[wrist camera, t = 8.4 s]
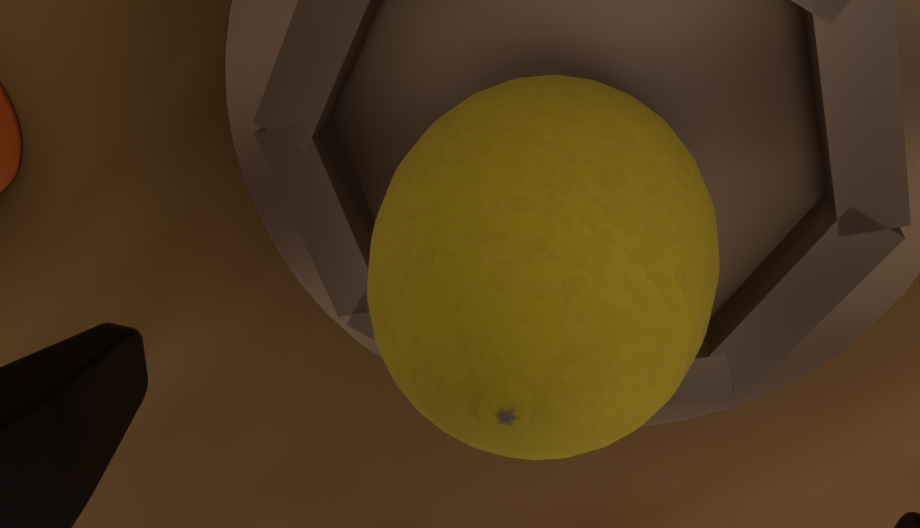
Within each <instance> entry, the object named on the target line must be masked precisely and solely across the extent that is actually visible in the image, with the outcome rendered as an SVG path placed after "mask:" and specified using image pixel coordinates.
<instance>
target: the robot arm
mask: <svg viewBox="0 0 920 528" xmlns="http://www.w3.org/2000/svg"><path fill="white" fill-rule="evenodd" d="M147 386H148V375H147V368H146V360H145V352H144V345H143V339H142V335H141V334H140V332H139V331H138V330H136V329H135V328H131V327H127V326H122V325H118V324H114V323H104V324H101V325H98V326H96V327H93V328H91V329H89V330H86V331H84V332H82V333H79V334H77V335H75V336H72V337H70V338H68V339H65V340H63V341H61V342H58V343H56V344H54V345H51V346H49V347H47V348H44V349H42V350H40V351H37V352H35V353H33V354H30V355H28V356H26V357H23V358H21V359H19V360H16V361H14V362H12V363H9V364H7V365H5V366H2V367H0V528H71V527H72V526H73V524H74V523H75V521H76V520H77V518H78V517H79V515H80V514H81V512H82V511H83V509H84V507H85V506H86V504H87V503H88V501H89V499H90V497H91V496H92V494H93V492H94V491H95V489H96V487H97V485H98V483H99V481H100V480H101V478H102V476H103V474H104V472H105V470H106V468H107V466H108V465H109V463H110V461H111V459H112V457H113V455H114V453H115V451H116V450H117V448H118V446H119V444H120V442H121V440H122V438H123V437H124V435H125V433H126V431H127V429H128V427H129V425H130V423H131V422H132V420H133V418H134V416H135V414H136V412H137V410H138V408H139V407H140V405H141V403H142V401H143V399H144V397H145V394H146V391H147ZM894 528H920V513H916V512H908V513H906V514H904V515H903V516H902V517H901V518H900V519H899V521H898V522H897V524H896V525H895V527H894Z"/></svg>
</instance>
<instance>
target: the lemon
mask: <svg viewBox="0 0 920 528" xmlns="http://www.w3.org/2000/svg"><path fill="white" fill-rule="evenodd" d="M719 270H720V264H719V246H718V235H717V224H716V216H715V210H714V205H713V203H712V200H711V197H710V195H709V192H708V190H707V187H706V185H705V183H704V180H703V178H702V175H701V173H700V171H699V168H698V166H697V163H696V161H695V159H694V158H693V156H692V154H691V153H690V151H689V150H688V149H687V148H686V146H685V145H684V144H683V143H682V141H681V140H680V139H679V137H678V136H677V135H676V134H675V132H674V131H673V130H672V129H671V127H670V126H669V125H668V124H667V122H666V121H665V120H663V119H662V118H661V117H660V116H659V115H657V114H656V113H654V112H653V111H652V110H650V109H649V108H648V107H646V106H645V105H644V104H642V103H641V102H640V101H638V100H637V99H636V98H634V97H633V96H632V95H630V94H628V93H625V92H623V91H620V90H618V89H615V88H613V87H610V86H608V85H605V84H603V83H600V82H598V81H595V80H591V79H584V78H577V77H570V76H563V75H556V74H554V75H544V76H533V77H523V78H515V79H512V80H509V81H507V82H504V83H501V84H499V85H496V86H493V87H491V88H488V89H485V90H483V91H480V92H477V93H474V94H473V95H471V96H470V97H468V98H467V99H466V100H464V101H463V102H461V103H460V104H458V105H457V106H456V107H454V108H453V109H451V110H450V111H449V112H447V113H446V114H444V115H443V116H442V117H440V118H439V119H437V120H436V121H435V122H434V123H433V124H432V125H431V126H430V127H429V128H428V129H427V130H426V132H425V133H424V134H423V135H422V136H421V138H420V139H419V140H418V141H417V143H416V144H415V145H414V146H413V148H412V149H411V150H410V151H409V153H408V154H407V155H406V156H405V158H404V159H403V160H402V162H401V163H400V164H399V166H398V168H397V170H396V171H395V173H394V175H393V177H392V180H391V182H390V185H389V187H388V190H387V192H386V195H385V197H384V200H383V202H382V205H381V207H380V210H379V212H378V215H377V218H376V221H375V224H374V229H373V233H372V239H371V247H370V257H369V268H368V280H367V301H368V307H369V312H370V318H371V323H372V328H373V333H374V338H375V343H376V345H377V348H378V350H379V352H380V354H381V356H382V358H383V360H384V362H385V364H386V366H387V368H388V370H389V372H390V374H391V376H392V378H393V380H394V382H395V384H396V385H397V386H398V387H399V389H400V390H401V391H402V392H403V393H404V395H405V396H406V397H407V398H408V399H409V401H410V402H411V403H412V404H413V405H414V407H415V408H416V409H417V410H418V411H419V412H420V413H421V414H422V415H424V416H425V417H426V418H427V419H429V420H430V421H431V422H432V423H434V424H435V425H436V426H437V427H439V428H440V429H441V430H442V431H444V432H445V433H447V434H448V435H450V436H452V437H454V438H456V439H458V440H460V441H462V442H464V443H466V444H468V445H470V446H472V447H474V448H477V449H480V450H484V451H487V452H490V453H494V454H497V455H500V456H503V457H512V458H520V459H529V460H545V459H560V458H568V457H571V456H575V455H578V454H582V453H585V452H589V451H592V450H596V449H599V448H603V447H606V446H608V445H610V444H611V443H613V442H615V441H617V440H619V439H621V438H622V437H624V436H626V435H628V434H630V433H632V432H633V431H635V430H636V429H638V428H639V427H640V426H642V425H643V424H644V423H645V422H646V421H648V420H649V419H650V418H651V417H652V416H653V415H654V414H655V413H656V412H657V411H658V410H659V409H660V408H661V407H662V406H663V405H664V404H665V403H666V402H668V401H669V399H670V398H671V397H672V395H673V394H674V393H675V392H676V390H677V389H678V387H679V385H680V384H681V382H682V380H683V378H684V377H685V375H686V373H687V371H688V370H689V368H690V366H691V364H692V363H693V361H694V359H695V357H696V355H697V353H698V351H699V349H700V347H701V345H702V343H703V340H704V337H705V335H706V332H707V328H708V324H709V320H710V316H711V311H712V307H713V302H714V298H715V293H716V288H717V284H718V277H719Z"/></svg>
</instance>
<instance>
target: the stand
mask: <svg viewBox="0 0 920 528" xmlns="http://www.w3.org/2000/svg"><path fill="white" fill-rule="evenodd" d="M225 71H226V101H227V108H228V114H229V121H230V127H231V134H232V140H233V144H234V148H235V151H236V155H237V159H238V162H239V166H240V169H241V173H242V176H243V180H244V183H245V185H246V187H247V190H248V192H249V195H250V197H251V199H252V202H253V204H254V207H255V209H256V212H257V214H258V216H259V219H260V220H261V222H262V224H263V226H264V228H265V229H266V231H267V233H268V235H269V237H270V238H271V240H272V242H273V244H274V246H275V247H276V249H277V251H278V253H279V254H280V256H281V257H282V258H283V260H284V261H285V263H286V264H287V265H288V267H289V268H290V270H291V271H292V273H293V274H294V275H295V277H296V278H297V280H298V281H299V282H300V284H301V285H302V286H303V287H304V288H305V290H306V291H307V292H308V293H309V294H310V295H311V296H312V297H313V299H314V300H315V301H316V302H317V303H318V304H319V305H320V307H321V308H322V309H323V310H324V311H325V312H326V313H327V314H328V315H329V316H330V317H331V318H332V319H333V320H334V321H335V322H337V323H338V324H339V325H340V326H341V327H342V328H343V329H344V330H345V331H346V332H347V333H349V334H350V335H351V336H352V337H353V338H354V339H355V340H356V341H358V342H359V343H360V344H362V345H363V346H365V347H366V348H367V349H369V350H370V351H371V352H373V353H374V354H375V355H377V356H378V357H379V358H381V359H382V360H383V358H382V356H381V354H380V352H379V350H378V348H377V345H376V343H375V338H374V333H373V328H372V323H371V318H370V312H369V307H368V301H367V280H368V268H369V257H370V247H371V239H372V233H373V229H374V224H375V221H376V218H377V215H378V212H379V210H380V207H381V205H382V202H383V200H384V197H385V195H386V192H387V190H388V187H389V185H390V182H391V180H392V177H393V175H394V173H395V171H396V170H397V168H398V166H399V164H400V163H401V162H402V160H403V159H404V158H405V156H406V155H407V154H408V153H409V151H410V150H411V149H412V148H413V146H414V145H415V144H416V143H417V141H418V140H419V139H420V138H421V136H422V135H423V134H424V133H425V132H426V130H427V129H428V128H429V127H430V126H431V125H432V124H433V123H434V122H435V121H436V120H437V119H439V118H440V117H442V116H443V115H444V114H446V113H447V112H449V111H450V110H451V109H453V108H454V107H456V106H457V105H458V104H460V103H461V102H463V101H464V100H466V99H467V98H468V97H470V96H471V95H473V94H474V93H477V92H480V91H483V90H485V89H488V88H491V87H493V86H496V85H499V84H501V83H504V82H507V81H509V80H512V79H515V78H523V77H533V76H544V75H554V74H556V75H563V76H570V77H577V78H584V79H591V80H595V81H598V82H600V83H603V84H605V85H608V86H610V87H613V88H615V89H618V90H620V91H623V92H625V93H628V94H630V95H632V96H633V97H634V98H636V99H637V100H638V101H640V102H641V103H642V104H644V105H645V106H646V107H648V108H649V109H650V110H652V111H653V112H654V113H656V114H657V115H659V116H660V117H661V118H662V119H663V120H665V121H666V122H667V124H668V125H669V126H670V127H671V129H672V130H673V131H674V132H675V134H676V135H677V136H678V137H679V139H680V140H681V141H682V143H683V144H684V145H685V146H686V148H687V149H688V150H689V151H690V153H691V154H692V156H693V158H694V159H695V161H696V163H697V166H698V168H699V171H700V173H701V175H702V178H703V180H704V183H705V185H706V187H707V190H708V192H709V195H710V197H711V200H712V203H713V205H714V210H715V216H716V224H717V235H718V246H719V264H720V270H719V277H718V284H717V288H716V293H715V298H714V302H713V307H712V311H711V316H710V320H709V324H708V328H707V332H706V335H705V337H704V340H703V343H702V345H701V347H700V349H699V351H698V353H697V355H696V357H695V359H694V361H693V363H692V364H691V366H690V368H689V370H688V371H687V373H686V375H685V377H684V378H683V380H682V382H681V384H680V385H679V387H678V389H677V390H676V392H675V393H674V394H673V395H672V397H671V398H670V399H669V401H668V402H666V403H665V404H664V405H663V406H662V407H661V408H660V409H659V410H658V411H657V412H656V413H655V414H654V415H653V416H652V417H651V418H650V419H649V420H648V421H646V422H645V423H644V424H643V425H642V426H640V427H645V426H652V425H659V424H666V423H673V422H680V421H686V420H690V419H694V418H698V417H702V416H706V415H710V414H714V413H717V412H721V411H725V410H728V409H731V408H733V407H736V406H739V405H742V404H744V403H747V402H750V401H752V400H755V399H758V398H761V397H763V396H766V395H768V394H770V393H772V392H774V391H776V390H778V389H780V388H782V387H784V386H786V385H788V384H790V383H792V382H794V381H796V380H798V379H800V378H802V377H804V376H805V375H807V374H808V373H810V372H811V371H813V370H815V369H816V368H818V367H819V366H821V365H822V364H824V363H826V362H827V361H829V360H830V359H832V358H833V357H835V356H836V355H838V354H839V353H841V352H842V351H843V350H844V349H846V348H847V347H848V346H849V345H850V344H852V343H853V342H854V341H855V340H857V339H858V338H859V337H860V336H861V335H863V334H864V333H865V332H866V331H868V330H869V329H870V328H871V327H872V326H874V325H875V324H876V323H877V321H878V320H879V319H880V318H881V317H882V316H883V315H884V314H885V313H886V312H887V311H888V310H889V309H890V308H891V307H892V306H893V305H894V304H895V303H896V302H897V301H898V299H899V298H900V297H901V296H902V295H903V294H904V293H905V292H906V291H907V289H908V288H909V287H910V285H911V284H912V283H913V281H914V280H915V279H916V277H917V276H918V274H919V273H920V0H232V4H231V8H230V14H229V24H228V33H227V43H226V52H225ZM383 361H384V360H383Z"/></svg>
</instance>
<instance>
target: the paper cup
mask: <svg viewBox="0 0 920 528" xmlns="http://www.w3.org/2000/svg"><path fill="white" fill-rule="evenodd" d="M21 156H22V138H21V131H20V127H19V123H18V119H17V116H16V113H15V111H14V108H13V106H12V104H11V102H10V100H9V98H8V96H7V94H6V92H5V91H4V89H3V87H2V86H1V84H0V192H1V191H2V190H4V189H5V188H6V187H7V185H8V184H9V183H10V182H11V181H12V180H13V178H14V177H15V175H16V173H17V171H18V168H19V165H20V162H21Z"/></svg>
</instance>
